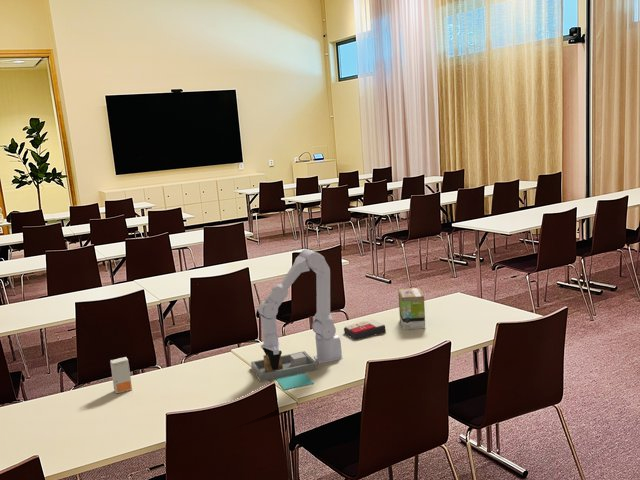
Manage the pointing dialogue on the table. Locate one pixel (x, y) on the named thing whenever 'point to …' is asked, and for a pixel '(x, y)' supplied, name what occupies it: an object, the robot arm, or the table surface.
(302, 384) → the mat
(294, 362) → the grey box
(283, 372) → the parts bin
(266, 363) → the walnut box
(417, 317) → the tea box
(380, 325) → the black and red box
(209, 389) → the table surface
